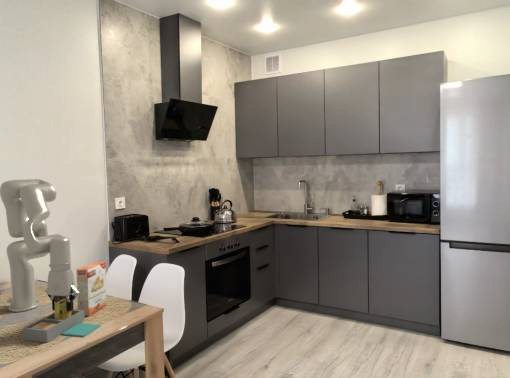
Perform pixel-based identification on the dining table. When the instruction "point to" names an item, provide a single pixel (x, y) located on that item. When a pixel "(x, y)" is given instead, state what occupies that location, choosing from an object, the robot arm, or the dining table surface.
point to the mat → (81, 330)
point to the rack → (55, 330)
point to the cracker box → (91, 287)
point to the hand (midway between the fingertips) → (63, 309)
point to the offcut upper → (43, 325)
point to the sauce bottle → (61, 308)
